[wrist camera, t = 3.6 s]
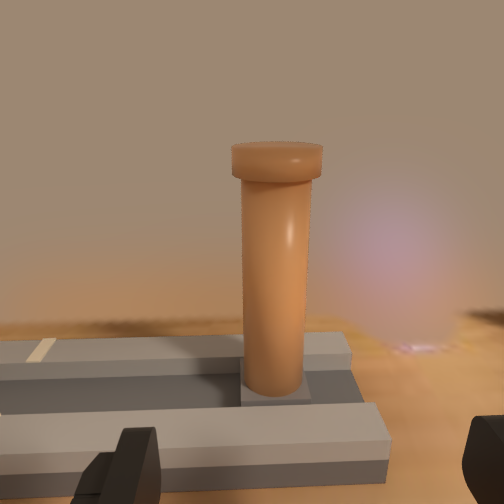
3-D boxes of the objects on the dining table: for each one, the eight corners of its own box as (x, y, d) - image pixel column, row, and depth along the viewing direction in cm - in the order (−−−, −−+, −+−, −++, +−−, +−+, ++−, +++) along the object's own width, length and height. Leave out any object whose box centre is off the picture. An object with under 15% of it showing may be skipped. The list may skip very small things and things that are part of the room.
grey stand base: (339, 365, 28) (342, 330, 27) (385, 482, 19) (392, 437, 18) (-19, 376, 27) (-30, 340, 26) (-135, 504, 18) (-158, 458, 17)
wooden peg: (302, 370, 25) (313, 141, 20) (314, 419, 21) (332, 151, 16) (237, 372, 24) (231, 141, 20) (237, 422, 21) (231, 152, 16)
